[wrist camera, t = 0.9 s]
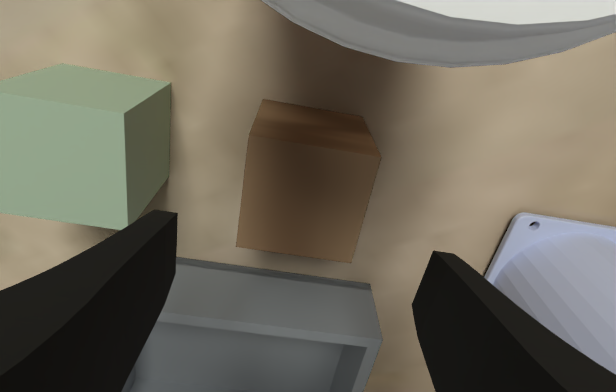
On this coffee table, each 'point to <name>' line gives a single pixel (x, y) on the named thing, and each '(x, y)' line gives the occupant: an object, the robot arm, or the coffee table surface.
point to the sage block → (82, 145)
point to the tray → (258, 333)
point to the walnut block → (306, 182)
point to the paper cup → (454, 27)
